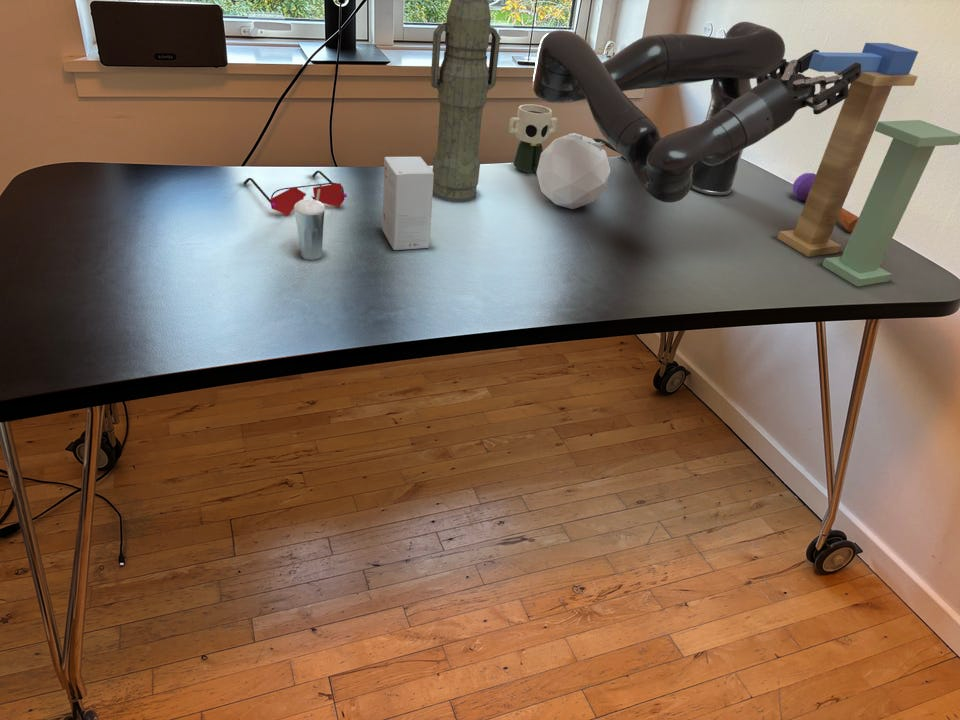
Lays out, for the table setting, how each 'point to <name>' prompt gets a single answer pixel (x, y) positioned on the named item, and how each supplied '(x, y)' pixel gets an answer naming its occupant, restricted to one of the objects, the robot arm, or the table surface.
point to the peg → (868, 59)
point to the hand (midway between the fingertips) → (838, 61)
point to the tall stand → (841, 162)
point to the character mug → (531, 134)
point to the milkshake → (310, 226)
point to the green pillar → (888, 198)
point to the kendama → (802, 191)
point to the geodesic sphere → (573, 170)
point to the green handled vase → (462, 96)
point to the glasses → (290, 197)
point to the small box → (407, 202)
